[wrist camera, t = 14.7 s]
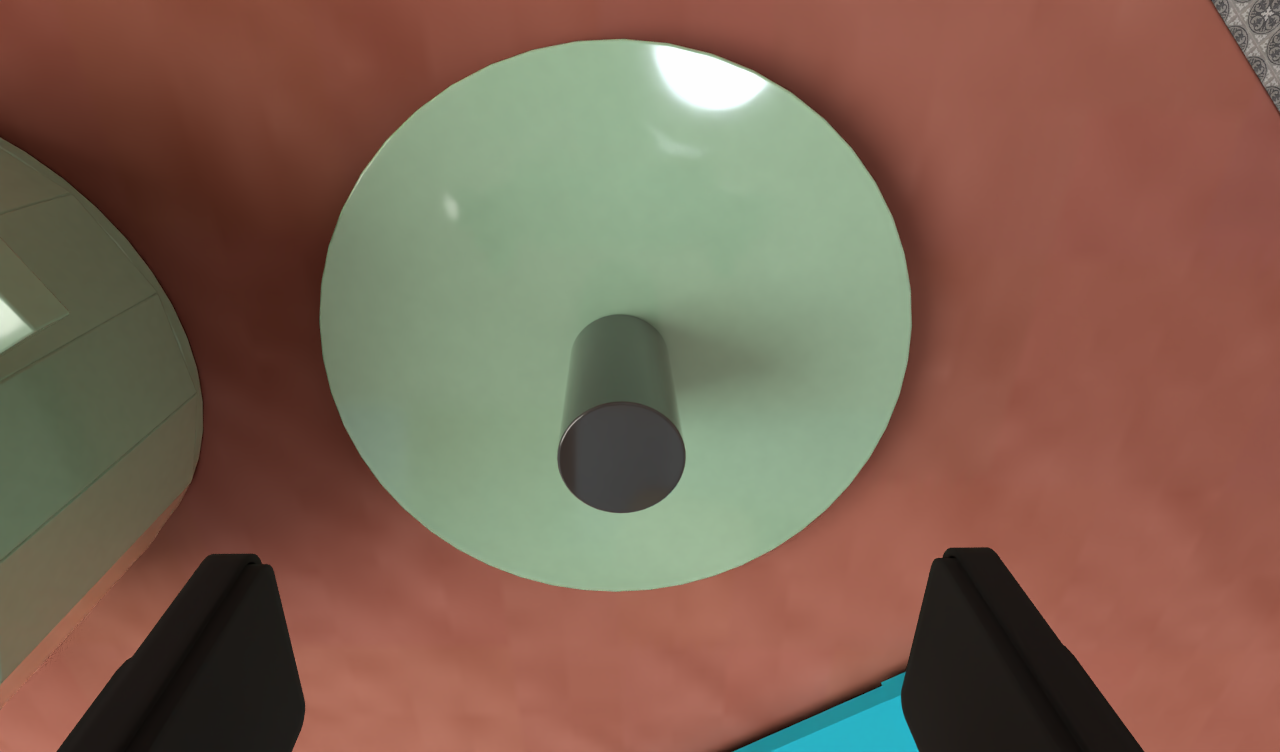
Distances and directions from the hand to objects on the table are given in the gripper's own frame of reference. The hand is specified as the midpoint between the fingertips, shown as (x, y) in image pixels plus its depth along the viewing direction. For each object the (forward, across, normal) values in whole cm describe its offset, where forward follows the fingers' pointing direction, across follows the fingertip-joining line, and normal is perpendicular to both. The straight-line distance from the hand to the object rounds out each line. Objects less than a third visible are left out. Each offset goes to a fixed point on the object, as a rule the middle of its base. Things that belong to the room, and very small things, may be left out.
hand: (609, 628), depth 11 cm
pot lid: (+12, 0, +1) cm, 12 cm away
